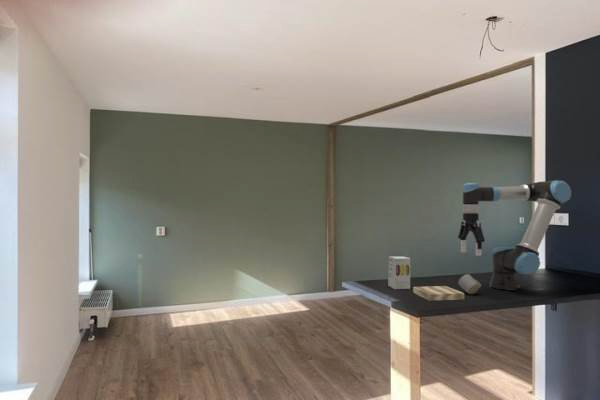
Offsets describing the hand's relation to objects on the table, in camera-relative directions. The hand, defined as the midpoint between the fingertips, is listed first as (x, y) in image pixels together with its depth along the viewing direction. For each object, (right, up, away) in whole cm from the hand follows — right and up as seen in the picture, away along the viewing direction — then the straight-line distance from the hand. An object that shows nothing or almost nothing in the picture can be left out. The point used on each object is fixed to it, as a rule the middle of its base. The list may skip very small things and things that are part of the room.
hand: (470, 253), depth 214 cm
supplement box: (-34, -21, +15) cm, 42 cm away
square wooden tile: (-19, -20, -6) cm, 29 cm away
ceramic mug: (0, -21, 0) cm, 21 cm away
